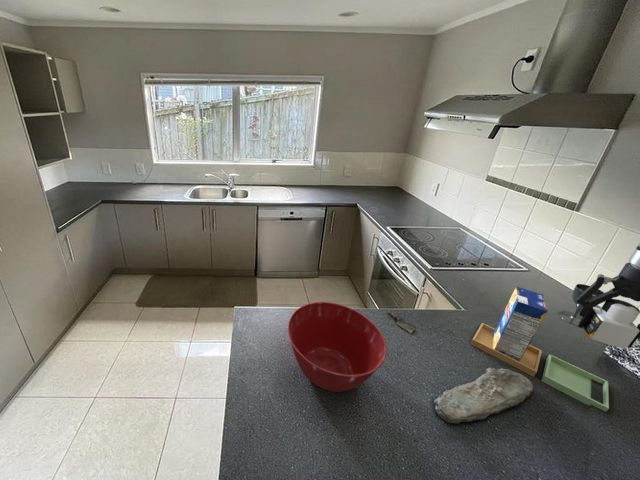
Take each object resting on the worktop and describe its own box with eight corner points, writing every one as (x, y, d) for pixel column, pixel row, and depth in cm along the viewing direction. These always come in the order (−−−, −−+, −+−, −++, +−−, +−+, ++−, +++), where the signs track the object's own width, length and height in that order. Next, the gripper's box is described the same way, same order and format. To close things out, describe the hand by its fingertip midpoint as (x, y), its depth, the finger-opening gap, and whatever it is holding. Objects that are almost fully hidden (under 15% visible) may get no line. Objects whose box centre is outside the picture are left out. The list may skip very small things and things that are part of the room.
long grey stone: (421, 401, 82) (452, 438, 73) (426, 390, 79) (458, 427, 71) (505, 367, 91) (540, 397, 83) (511, 357, 89) (549, 385, 80)
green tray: (604, 386, 87) (608, 381, 86) (604, 414, 79) (609, 408, 78) (546, 359, 96) (549, 354, 95) (541, 381, 88) (544, 375, 87)
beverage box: (492, 352, 97) (518, 301, 88) (492, 334, 105) (516, 286, 96) (518, 363, 93) (547, 311, 84) (516, 344, 101) (543, 294, 92)
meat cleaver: (406, 334, 104) (417, 332, 106) (407, 332, 104) (418, 330, 105) (385, 313, 114) (394, 311, 116) (385, 310, 114) (395, 309, 115)
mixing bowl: (382, 357, 94) (392, 322, 88) (365, 436, 71) (378, 395, 65) (303, 324, 107) (308, 291, 101) (268, 382, 84) (271, 344, 78)
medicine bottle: (579, 324, 86) (600, 292, 81) (613, 334, 83) (636, 301, 78) (589, 339, 81) (612, 306, 76) (626, 350, 77) (651, 316, 72)
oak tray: (539, 355, 97) (542, 350, 96) (533, 377, 89) (536, 371, 88) (480, 327, 109) (482, 322, 108) (470, 344, 101) (472, 339, 100)
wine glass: (590, 324, 113) (610, 294, 107) (580, 329, 110) (600, 298, 104) (564, 311, 120) (582, 282, 114) (554, 315, 117) (571, 286, 111)
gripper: (719, 282, 67) (661, 351, 76) (589, 248, 82) (554, 309, 91) (727, 294, 63) (665, 366, 72) (588, 256, 77) (551, 319, 86)
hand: (603, 334), depth 81 cm, fingers closed on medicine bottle, 8 cm apart
